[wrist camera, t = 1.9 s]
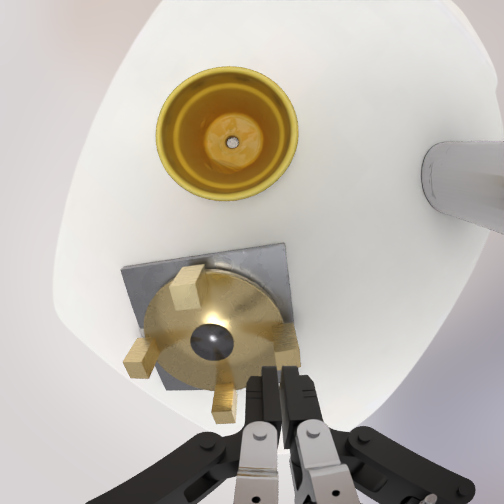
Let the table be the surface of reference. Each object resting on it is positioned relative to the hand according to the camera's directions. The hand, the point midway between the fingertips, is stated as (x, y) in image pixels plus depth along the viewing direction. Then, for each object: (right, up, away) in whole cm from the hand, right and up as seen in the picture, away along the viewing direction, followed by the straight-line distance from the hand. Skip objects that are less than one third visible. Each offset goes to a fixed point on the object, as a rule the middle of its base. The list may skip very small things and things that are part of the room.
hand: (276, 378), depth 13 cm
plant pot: (-3, +18, +15) cm, 23 cm away
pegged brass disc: (-6, -4, +20) cm, 21 cm away
